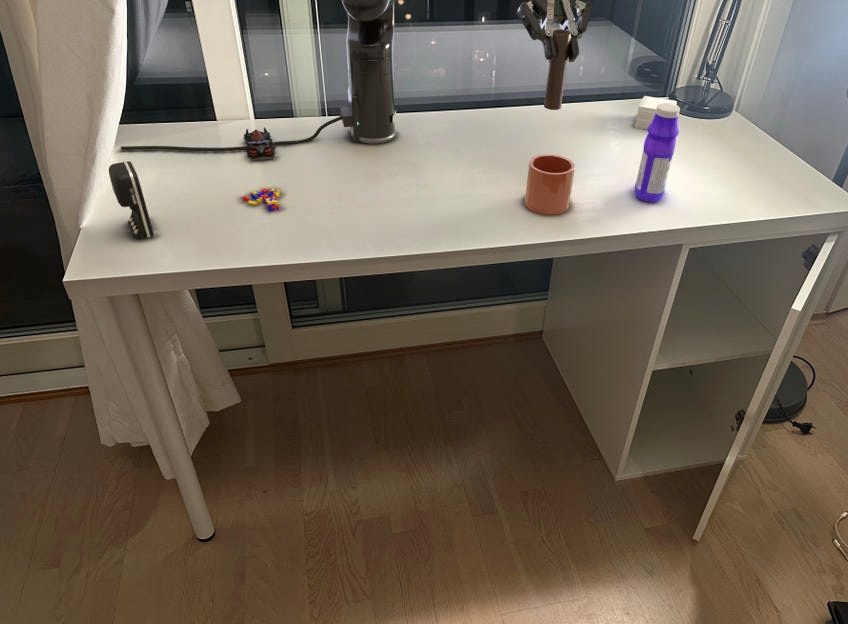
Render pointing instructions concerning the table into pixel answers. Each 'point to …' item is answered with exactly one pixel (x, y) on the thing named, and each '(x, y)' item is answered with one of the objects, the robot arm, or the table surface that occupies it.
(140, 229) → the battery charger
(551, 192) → the holder
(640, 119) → the small box
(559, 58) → the dowel
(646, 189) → the bottle
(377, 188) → the table surface
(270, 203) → the building blocks
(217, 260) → the table surface
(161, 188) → the table surface
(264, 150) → the toy car
